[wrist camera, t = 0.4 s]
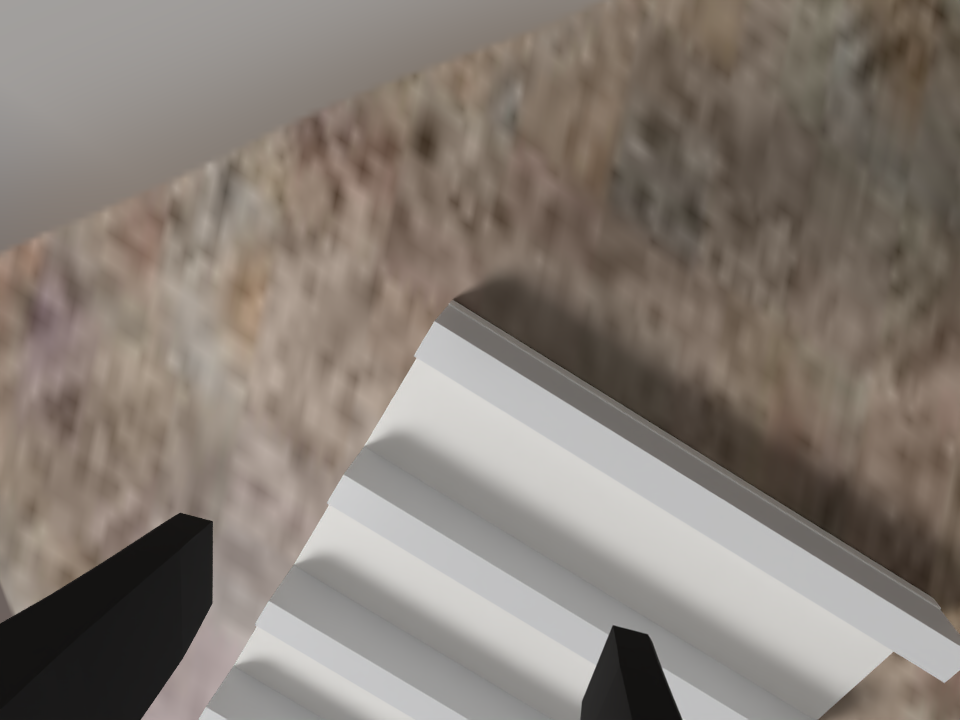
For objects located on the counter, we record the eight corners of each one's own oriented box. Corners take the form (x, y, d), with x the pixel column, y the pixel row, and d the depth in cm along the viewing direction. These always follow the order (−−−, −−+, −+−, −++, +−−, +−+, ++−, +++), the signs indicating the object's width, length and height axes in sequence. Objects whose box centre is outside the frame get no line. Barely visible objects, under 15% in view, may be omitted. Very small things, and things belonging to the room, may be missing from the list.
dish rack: (604, 897, 27) (606, 968, 25) (228, 676, 27) (193, 727, 24) (933, 598, 21) (977, 654, 19) (452, 299, 20) (435, 319, 18)
